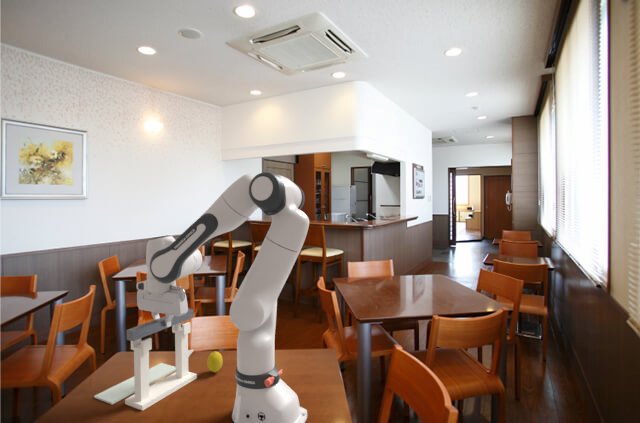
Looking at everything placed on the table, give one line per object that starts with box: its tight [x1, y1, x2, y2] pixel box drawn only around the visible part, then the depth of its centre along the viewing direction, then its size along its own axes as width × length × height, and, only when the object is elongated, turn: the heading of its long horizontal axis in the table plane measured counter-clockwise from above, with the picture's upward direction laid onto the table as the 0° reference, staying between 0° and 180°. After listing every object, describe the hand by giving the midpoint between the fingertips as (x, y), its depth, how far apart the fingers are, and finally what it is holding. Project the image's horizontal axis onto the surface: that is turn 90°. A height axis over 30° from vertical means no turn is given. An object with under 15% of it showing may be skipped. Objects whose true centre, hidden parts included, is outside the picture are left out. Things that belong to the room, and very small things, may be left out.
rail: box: [125, 307, 194, 342], centre depth 119 cm, size 3×24×3 cm, turn 154°
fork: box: [188, 349, 195, 358], centre depth 142 cm, size 3×21×3 cm, turn 9°
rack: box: [124, 321, 198, 411], centre depth 119 cm, size 8×22×20 cm, turn 154°
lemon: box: [206, 350, 224, 373], centre depth 132 cm, size 6×6×8 cm
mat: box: [93, 362, 176, 405], centre depth 125 cm, size 9×26×1 cm, turn 154°
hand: (162, 325), depth 119 cm, fingers closed on rail, 3 cm apart
